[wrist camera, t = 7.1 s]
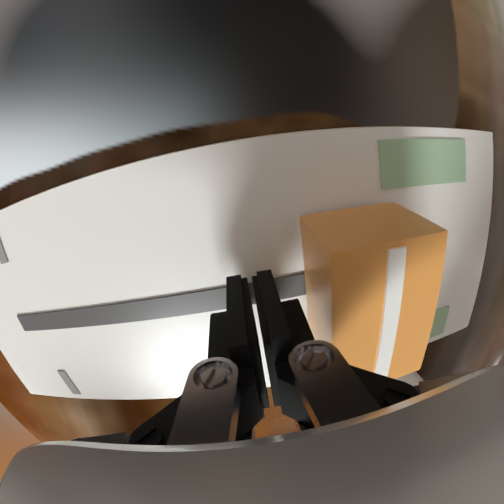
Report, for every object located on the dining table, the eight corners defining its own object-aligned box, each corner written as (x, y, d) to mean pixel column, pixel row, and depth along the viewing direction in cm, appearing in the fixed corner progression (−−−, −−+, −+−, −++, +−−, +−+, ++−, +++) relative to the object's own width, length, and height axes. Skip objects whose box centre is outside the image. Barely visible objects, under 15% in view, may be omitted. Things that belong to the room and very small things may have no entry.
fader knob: (393, 201, 11) (449, 231, 7) (386, 322, 13) (420, 371, 10) (299, 216, 11) (331, 255, 7) (309, 341, 13) (330, 400, 10)
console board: (467, 129, 12) (493, 132, 10) (451, 310, 16) (468, 327, 14) (-32, 225, 11) (-53, 236, 9) (40, 375, 16) (30, 394, 14)
